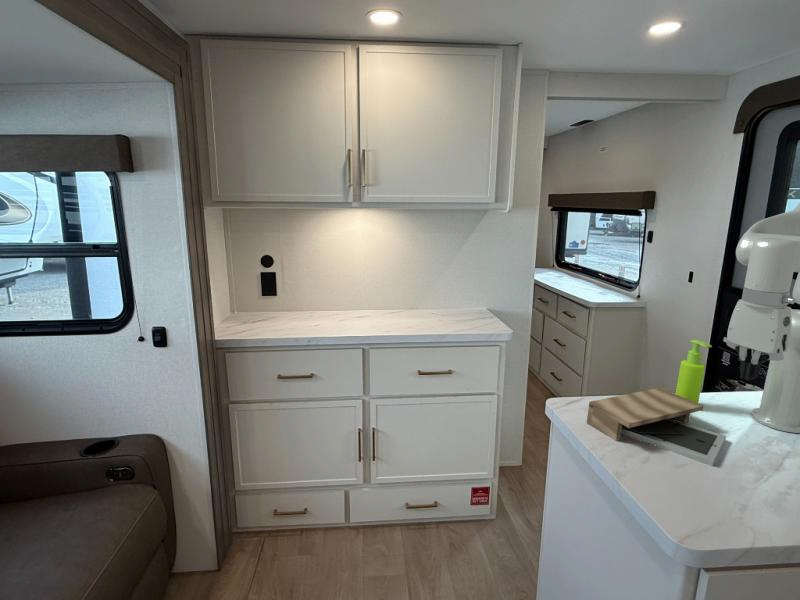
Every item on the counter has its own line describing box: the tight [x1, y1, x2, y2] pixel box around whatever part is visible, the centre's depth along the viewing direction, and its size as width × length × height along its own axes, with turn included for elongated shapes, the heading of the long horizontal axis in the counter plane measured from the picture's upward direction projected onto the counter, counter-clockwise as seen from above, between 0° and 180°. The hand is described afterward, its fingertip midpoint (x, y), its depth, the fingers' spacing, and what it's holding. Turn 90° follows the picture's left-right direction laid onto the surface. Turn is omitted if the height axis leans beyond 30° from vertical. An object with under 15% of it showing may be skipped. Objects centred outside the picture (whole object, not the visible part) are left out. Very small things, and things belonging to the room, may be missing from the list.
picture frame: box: [621, 418, 727, 467], centre depth 116 cm, size 16×3×21 cm
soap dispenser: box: [675, 339, 713, 404], centre depth 131 cm, size 6×7×20 cm
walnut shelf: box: [586, 387, 704, 442], centre depth 121 cm, size 27×12×6 cm, turn 113°
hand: (748, 378), depth 100 cm, fingers closed
